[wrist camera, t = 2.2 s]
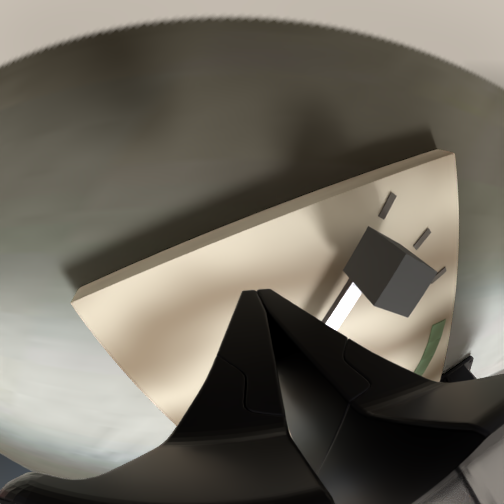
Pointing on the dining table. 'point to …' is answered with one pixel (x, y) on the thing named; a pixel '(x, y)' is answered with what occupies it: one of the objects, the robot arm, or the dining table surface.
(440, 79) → the dining table surface
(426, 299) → the dial board
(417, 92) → the dining table surface
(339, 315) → the dial needle
